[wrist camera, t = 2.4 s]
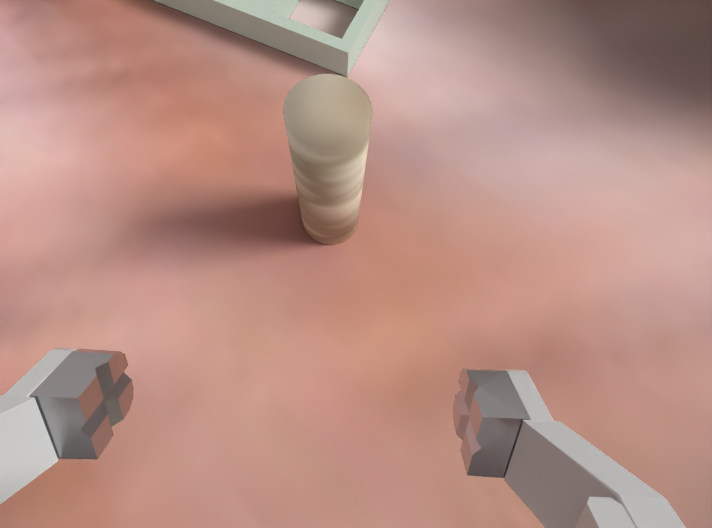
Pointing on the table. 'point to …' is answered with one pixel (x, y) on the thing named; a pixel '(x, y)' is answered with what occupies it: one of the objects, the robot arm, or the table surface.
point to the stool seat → (290, 27)
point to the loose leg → (328, 152)
